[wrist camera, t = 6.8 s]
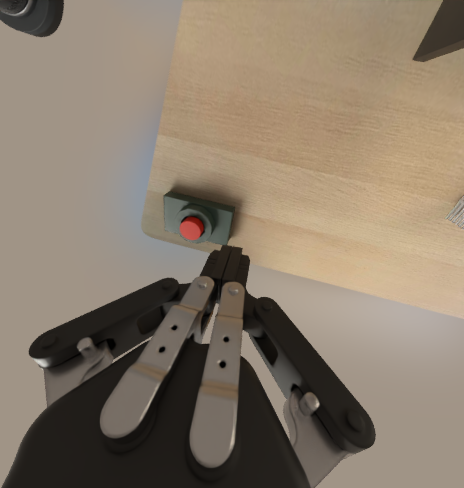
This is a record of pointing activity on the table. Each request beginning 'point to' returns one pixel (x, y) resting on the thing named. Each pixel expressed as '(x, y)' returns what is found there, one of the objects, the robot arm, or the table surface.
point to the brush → (462, 203)
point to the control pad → (210, 214)
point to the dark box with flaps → (443, 32)
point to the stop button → (191, 228)
